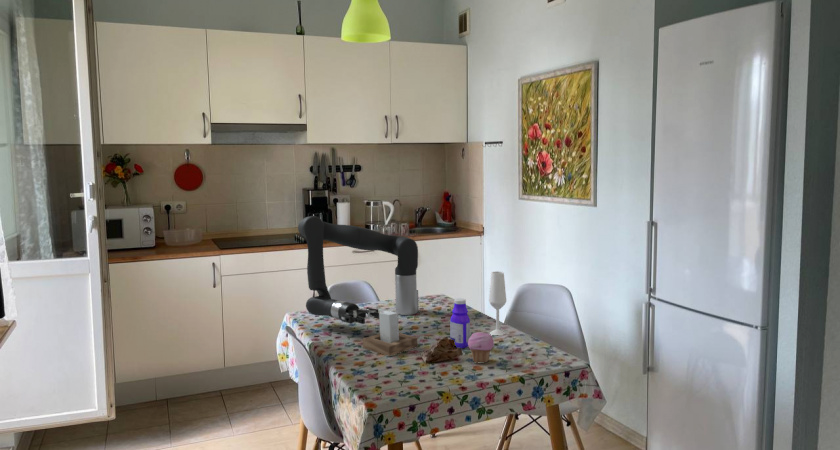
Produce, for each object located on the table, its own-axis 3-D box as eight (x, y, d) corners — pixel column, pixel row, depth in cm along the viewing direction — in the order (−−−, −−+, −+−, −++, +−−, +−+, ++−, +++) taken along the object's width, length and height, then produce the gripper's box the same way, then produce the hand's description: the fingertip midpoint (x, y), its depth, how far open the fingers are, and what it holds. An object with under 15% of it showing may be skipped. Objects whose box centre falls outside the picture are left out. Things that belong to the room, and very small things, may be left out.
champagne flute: (486, 335, 245) (486, 273, 242) (492, 330, 251) (492, 270, 248) (502, 337, 242) (502, 275, 239) (508, 332, 248) (508, 271, 245)
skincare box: (399, 345, 231) (399, 312, 230) (390, 348, 228) (389, 315, 227) (388, 341, 236) (388, 309, 234) (379, 344, 233) (378, 312, 231)
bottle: (473, 346, 232) (472, 299, 230) (463, 350, 228) (462, 302, 226) (457, 342, 237) (457, 296, 235) (447, 345, 233) (447, 299, 231)
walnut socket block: (391, 339, 242) (390, 330, 242) (417, 346, 232) (417, 337, 232) (362, 348, 232) (362, 338, 232) (389, 356, 222) (389, 346, 222)
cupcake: (467, 357, 220) (467, 329, 219) (492, 357, 220) (492, 328, 219) (468, 366, 211) (468, 336, 210) (494, 366, 211) (494, 336, 210)
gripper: (330, 305, 243) (358, 312, 232) (358, 298, 253) (386, 305, 242) (330, 324, 244) (358, 332, 233) (359, 317, 254) (387, 324, 243)
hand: (373, 318), depth 237 cm, fingers open, 8 cm apart
